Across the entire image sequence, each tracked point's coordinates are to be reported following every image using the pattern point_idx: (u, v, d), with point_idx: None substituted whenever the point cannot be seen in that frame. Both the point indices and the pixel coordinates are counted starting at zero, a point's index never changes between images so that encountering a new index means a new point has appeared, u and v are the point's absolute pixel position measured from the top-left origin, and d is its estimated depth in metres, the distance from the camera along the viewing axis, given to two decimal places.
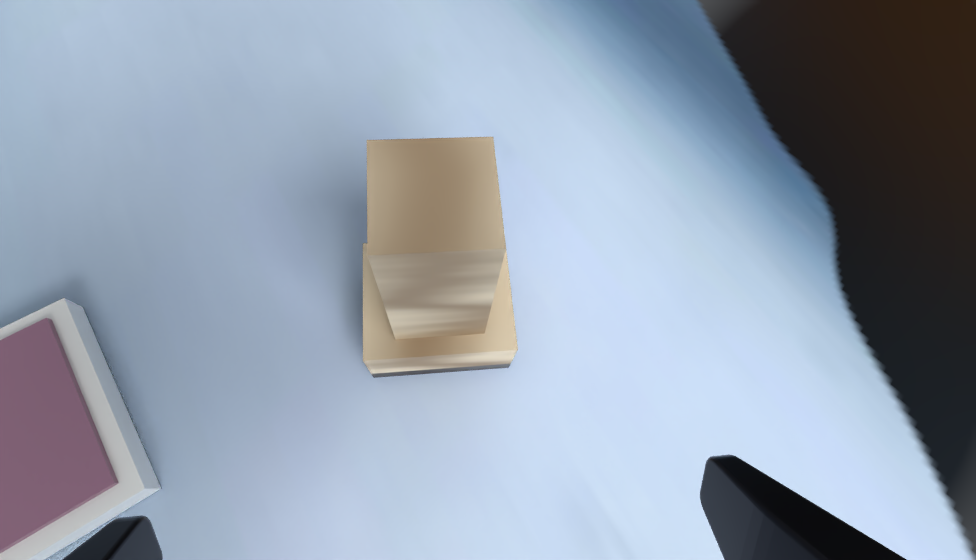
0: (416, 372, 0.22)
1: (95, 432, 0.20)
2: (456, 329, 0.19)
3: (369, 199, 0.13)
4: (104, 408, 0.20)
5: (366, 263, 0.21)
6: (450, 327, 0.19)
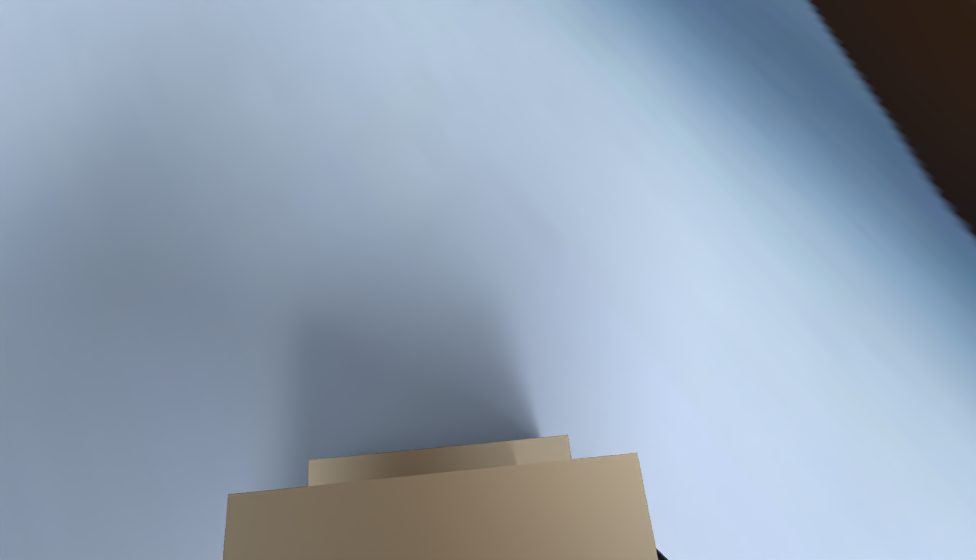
0: None
1: None
2: None
3: None
4: None
5: None
6: None
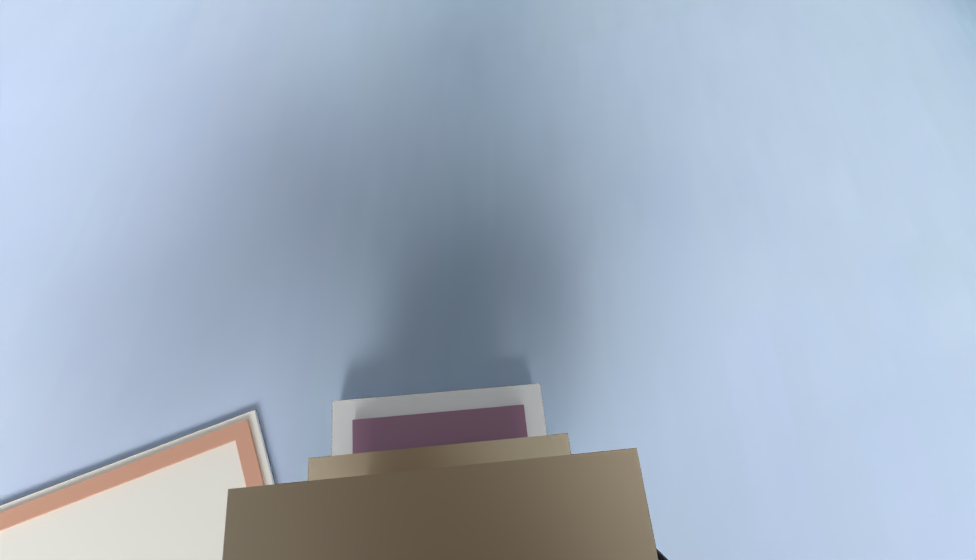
0: None
1: None
2: None
3: None
4: None
5: None
6: None
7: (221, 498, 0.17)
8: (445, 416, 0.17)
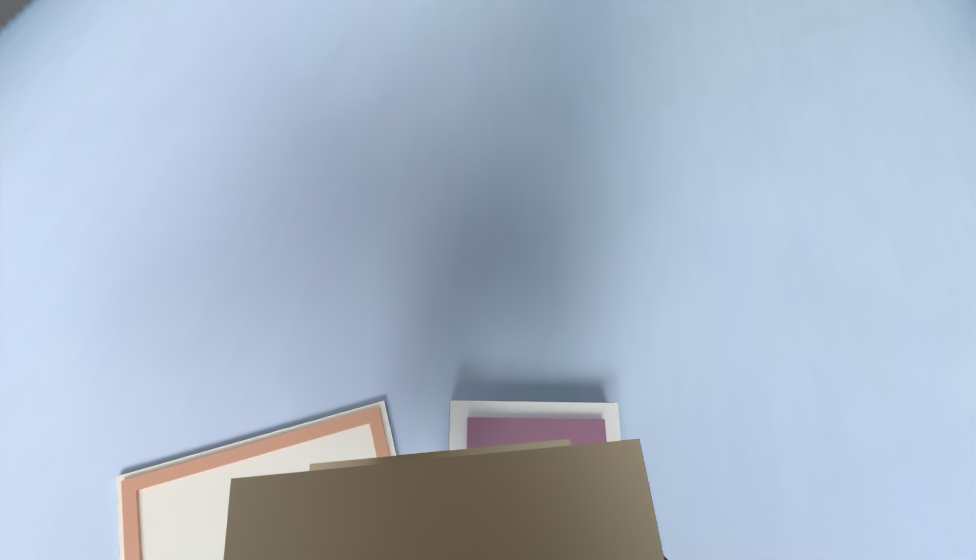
0: None
1: None
2: None
3: None
4: None
5: None
6: None
7: None
8: (541, 422, 0.21)
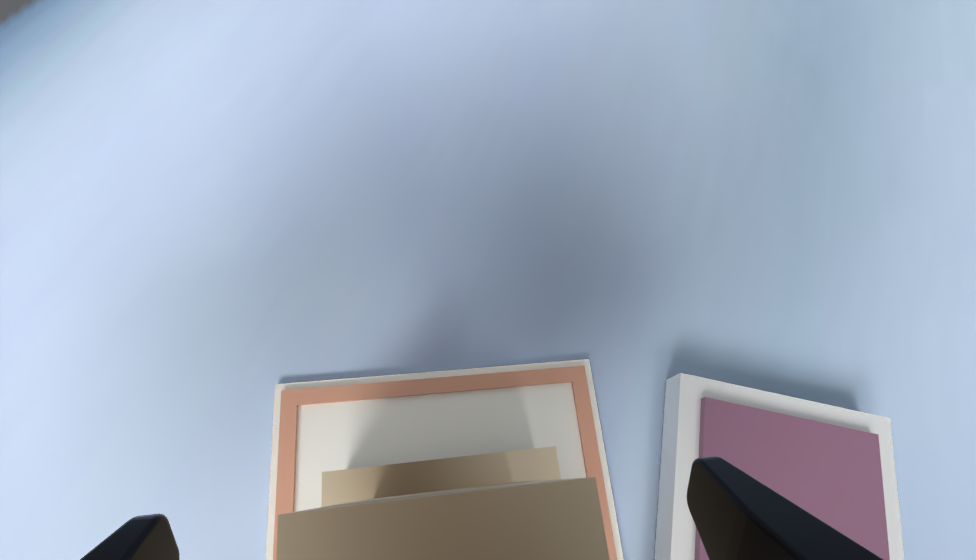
0: None
1: None
2: None
3: None
4: None
5: None
6: None
7: (553, 433, 0.17)
8: (798, 422, 0.16)
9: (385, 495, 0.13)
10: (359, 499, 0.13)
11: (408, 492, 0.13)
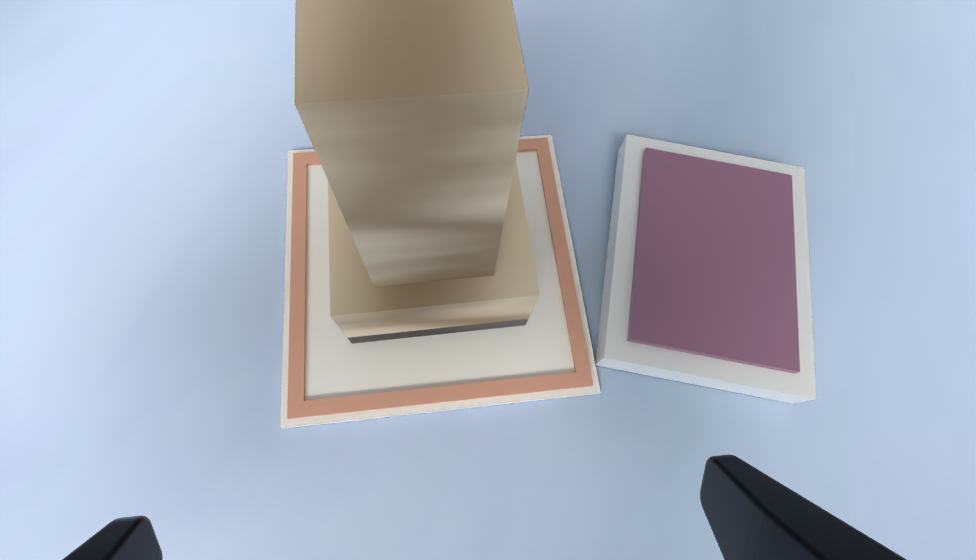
0: (406, 334, 0.17)
1: (789, 308, 0.18)
2: (455, 269, 0.14)
3: (299, 21, 0.08)
4: (805, 294, 0.18)
5: None
6: (447, 264, 0.14)
7: (521, 187, 0.20)
8: (723, 165, 0.19)
9: None
10: None
11: None
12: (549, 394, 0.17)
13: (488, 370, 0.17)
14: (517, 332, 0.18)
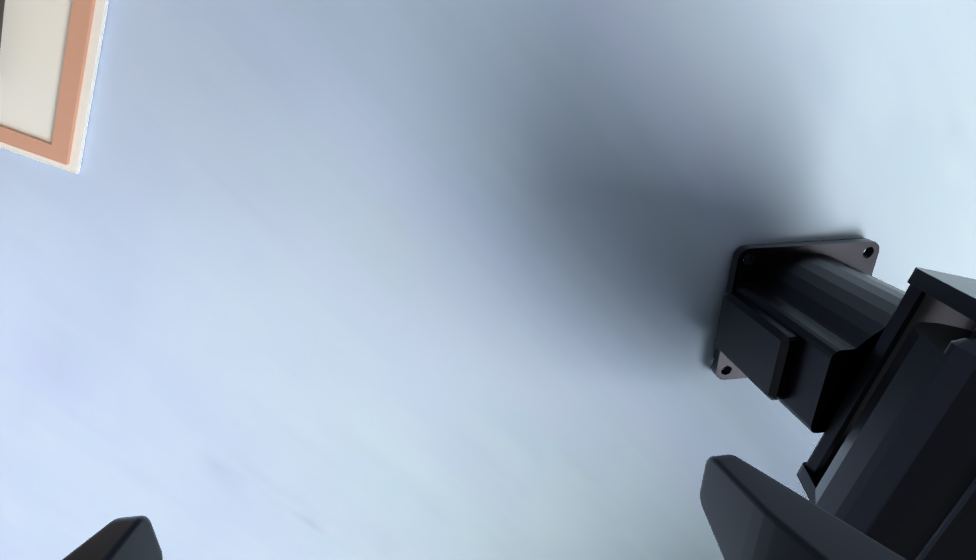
0: None
1: None
2: None
3: None
4: None
5: None
6: None
7: None
8: None
9: None
10: None
11: None
12: None
13: None
14: None
